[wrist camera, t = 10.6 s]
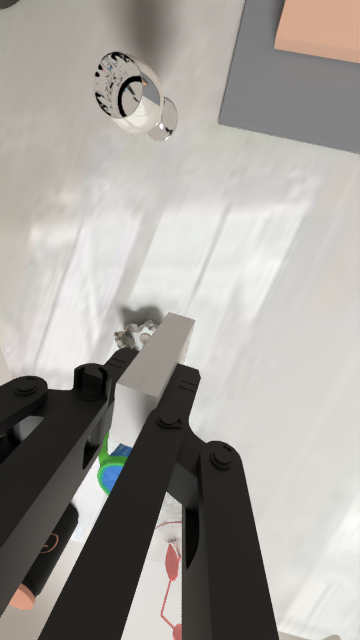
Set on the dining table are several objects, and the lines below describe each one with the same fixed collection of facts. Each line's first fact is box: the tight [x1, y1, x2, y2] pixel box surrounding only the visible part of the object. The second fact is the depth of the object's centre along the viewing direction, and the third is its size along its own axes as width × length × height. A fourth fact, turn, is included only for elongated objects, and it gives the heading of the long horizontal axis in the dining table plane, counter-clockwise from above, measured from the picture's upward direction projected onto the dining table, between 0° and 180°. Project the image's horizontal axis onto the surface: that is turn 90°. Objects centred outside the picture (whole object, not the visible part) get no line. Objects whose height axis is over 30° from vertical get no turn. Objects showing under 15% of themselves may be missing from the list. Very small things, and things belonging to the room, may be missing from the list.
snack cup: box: [97, 431, 132, 496], centre depth 53 cm, size 16×10×10 cm
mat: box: [218, 0, 360, 154], centre depth 28 cm, size 21×18×1 cm
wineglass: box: [93, 52, 178, 141], centre depth 30 cm, size 6×6×12 cm
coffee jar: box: [9, 504, 78, 610], centre depth 68 cm, size 11×11×18 cm
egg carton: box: [114, 320, 159, 349], centre depth 47 cm, size 11×8×4 cm
